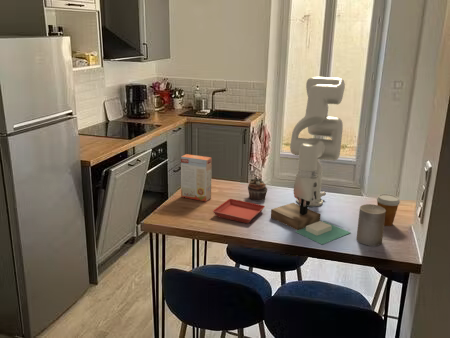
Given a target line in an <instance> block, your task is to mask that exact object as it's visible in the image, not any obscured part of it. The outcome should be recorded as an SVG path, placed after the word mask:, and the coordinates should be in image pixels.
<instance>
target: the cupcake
mask: <svg viewBox="0 0 450 338" xmlns="http://www.w3.org/2000/svg"><path fill="white" fill-rule="evenodd" d="M247 185H248V186H247V190H248V196H249V199H251V200H253V201H263V200H266V196H267V192H268V188H267V185H266V183H265V182H264V180H263V179H262V178H258V177H254V178H252V179H251V178H250V181H249V183H248V184H247Z"/></svg>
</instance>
